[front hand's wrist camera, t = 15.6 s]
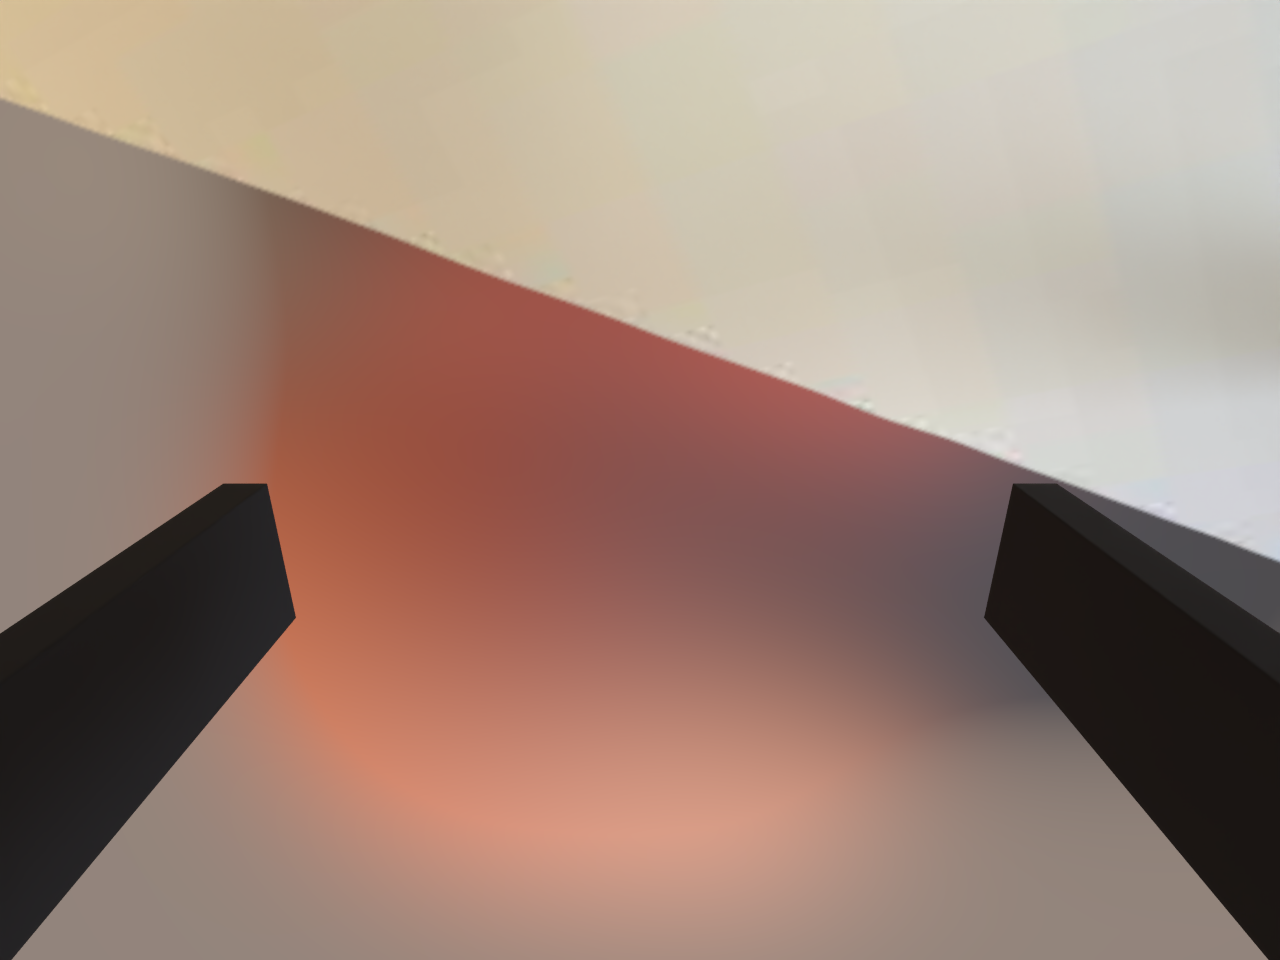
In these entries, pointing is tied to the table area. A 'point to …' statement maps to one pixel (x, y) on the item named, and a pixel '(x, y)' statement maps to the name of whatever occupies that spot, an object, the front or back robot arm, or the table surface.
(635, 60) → the table surface
